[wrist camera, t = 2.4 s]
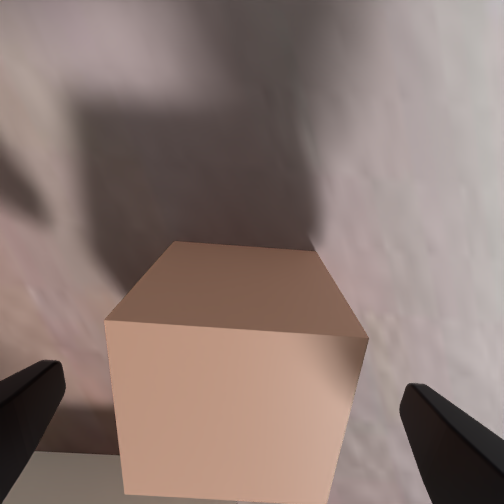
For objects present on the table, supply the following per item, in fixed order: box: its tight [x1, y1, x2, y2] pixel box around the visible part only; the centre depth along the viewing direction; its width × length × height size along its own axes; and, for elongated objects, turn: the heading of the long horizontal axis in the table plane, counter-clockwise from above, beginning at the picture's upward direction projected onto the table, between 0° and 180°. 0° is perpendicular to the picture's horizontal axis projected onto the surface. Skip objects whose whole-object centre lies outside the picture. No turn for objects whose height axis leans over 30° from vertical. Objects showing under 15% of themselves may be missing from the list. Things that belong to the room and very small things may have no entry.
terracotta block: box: [104, 241, 369, 504], centre depth 9 cm, size 5×5×5 cm
